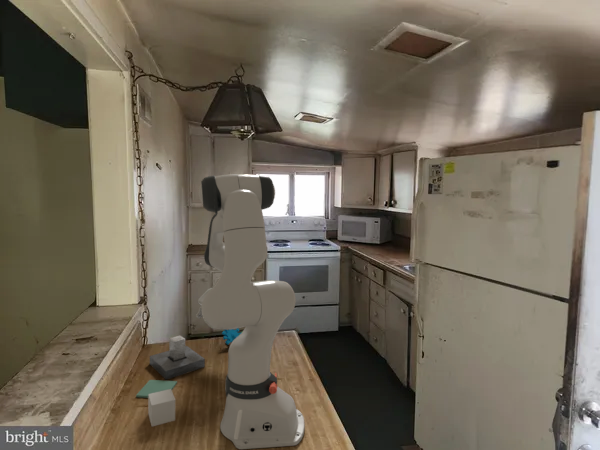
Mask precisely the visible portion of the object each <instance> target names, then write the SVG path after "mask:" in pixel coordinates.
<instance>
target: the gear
mask: <svg viewBox="0 0 600 450" xmlns="http://www.w3.org/2000/svg"><path fill="white" fill-rule="evenodd" d="M243 331H244V330H242V331H241V332H240V328H236V329H231V330H223V331H222V332H221V335H223V337H222V340H224V341H225V342H224V343H225V344H226V345H228V346H229V344H231V343H232V342H233V340H234V339H235V338H237V337H238V336H239V335H240V334H241V333H242V332H243Z"/></svg>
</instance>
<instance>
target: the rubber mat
mask: <svg viewBox="0 0 600 450" xmlns="http://www.w3.org/2000/svg"><path fill="white" fill-rule="evenodd" d="M177 384H178V381H177V380H162V379H161V380H159V379H157V380H156V379H149V380H148V381H147V383H146V384H144V386H143V387H142V388H141V389H140V390H139V391H138V393H136V394H135V396H136V398H145V399H148V394H151V393H155V392H160V391H164V390H168V389H171V390H172V391H173V390H174V388H175V387H176V386H177Z"/></svg>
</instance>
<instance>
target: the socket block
mask: <svg viewBox="0 0 600 450" xmlns="http://www.w3.org/2000/svg"><path fill="white" fill-rule="evenodd" d="M205 360H206V359H205V358H204V357H203V356H201V354H199V353H197V352H196V351H195V350H193V349H192V348H191V347H189V346H188V345H185V359H182V360H179V361H176V362H172V361H171V360H170V359H169V350H166V351H164V352H163V351H162V352H160V353H155V354H152V355H150V356H149V365H150V366H151V367H152V368H153V369H154V370H155V371H156V372H157V373H158V374H160V376H162V377H163V378H164V380H165V381H168V380H169V379H173V378H176V377H178V376H179V377H180V376H181V375H185V374H187V373H191V372H193V371H196V370H200V369H203V368H205V365H206V363H205V362H206V361H205Z"/></svg>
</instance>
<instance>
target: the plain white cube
mask: <svg viewBox="0 0 600 450" xmlns="http://www.w3.org/2000/svg"><path fill="white" fill-rule="evenodd" d="M147 399H148V406H147V407H148V409H147V411H148V413H147V414H148V419H149V421H150V425H151V427H157V426H159V425H163V424H166V423H170V422H175V421H176V398H175V396H174V393H173V390H171V389H168V390H164V391H160V392H155V393H151V394H148V398H147Z"/></svg>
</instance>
